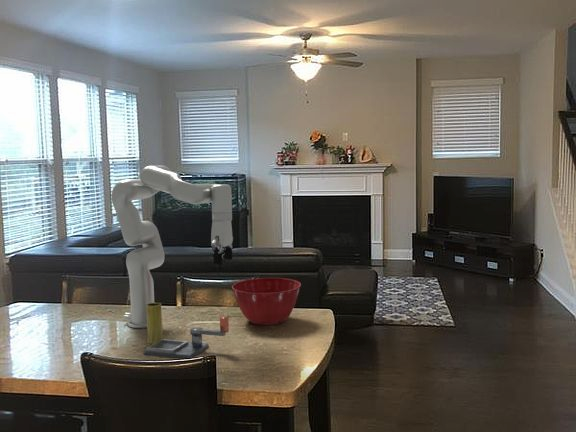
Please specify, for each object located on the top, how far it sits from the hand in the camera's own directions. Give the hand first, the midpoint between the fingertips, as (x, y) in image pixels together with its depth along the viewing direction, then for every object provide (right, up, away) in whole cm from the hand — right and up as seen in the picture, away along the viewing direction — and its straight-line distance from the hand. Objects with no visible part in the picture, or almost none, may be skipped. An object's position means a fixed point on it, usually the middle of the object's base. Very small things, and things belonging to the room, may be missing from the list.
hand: (223, 261), depth 230 cm
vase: (-25, -30, -5) cm, 39 cm away
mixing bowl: (+16, -27, +21) cm, 37 cm away
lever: (-3, -25, -16) cm, 30 cm away
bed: (-15, -30, -16) cm, 37 cm away
